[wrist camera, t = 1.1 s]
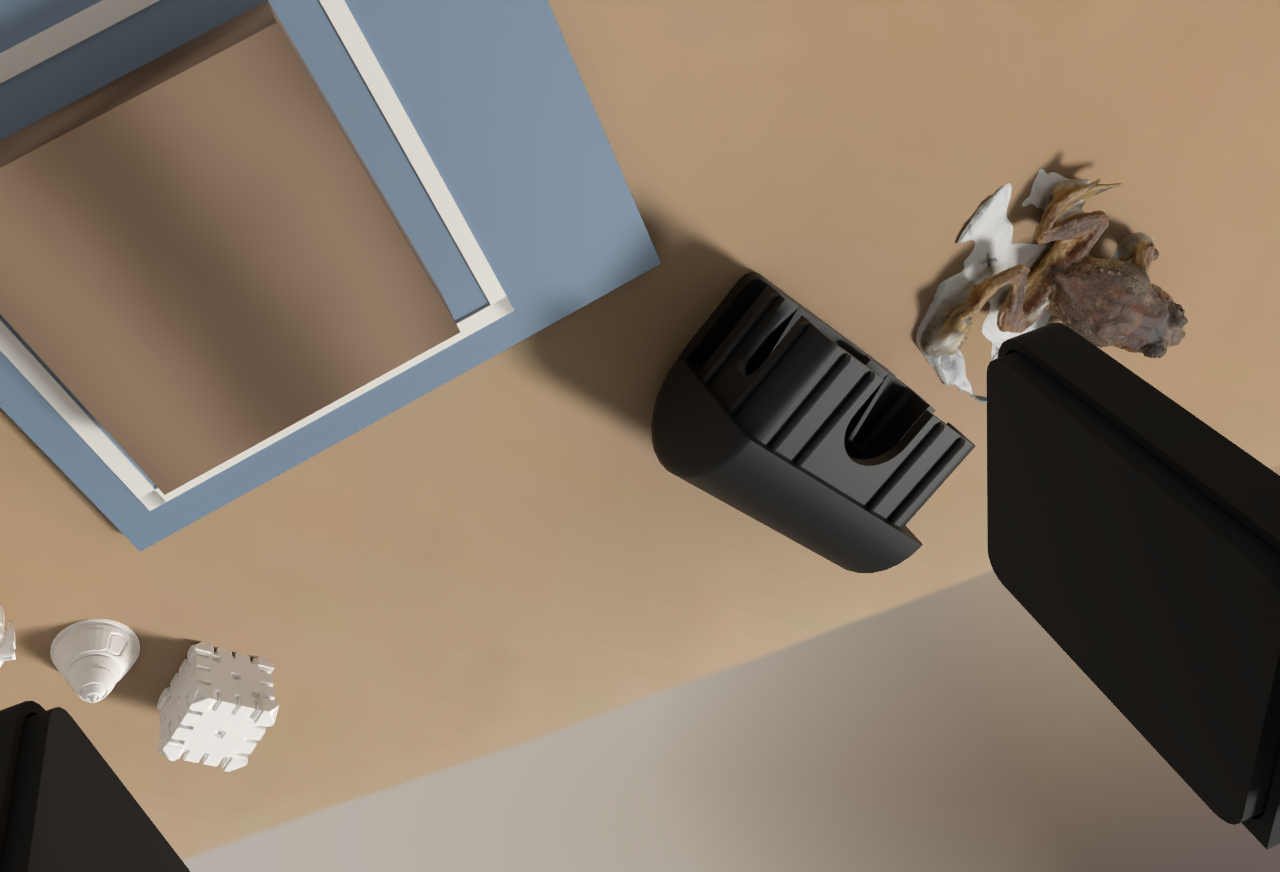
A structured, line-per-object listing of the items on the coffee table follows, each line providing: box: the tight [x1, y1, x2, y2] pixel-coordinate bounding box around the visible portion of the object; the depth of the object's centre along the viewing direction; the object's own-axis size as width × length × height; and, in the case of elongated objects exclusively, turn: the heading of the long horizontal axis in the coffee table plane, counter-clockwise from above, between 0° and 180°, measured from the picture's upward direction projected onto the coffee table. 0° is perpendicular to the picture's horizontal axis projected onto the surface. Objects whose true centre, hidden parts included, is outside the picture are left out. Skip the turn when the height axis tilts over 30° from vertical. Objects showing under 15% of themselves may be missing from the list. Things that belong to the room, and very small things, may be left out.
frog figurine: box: [916, 169, 1188, 403], centre depth 45 cm, size 12×12×4 cm
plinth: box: [0, 0, 460, 495], centre depth 32 cm, size 10×10×3 cm
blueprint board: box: [0, 0, 661, 551], centre depth 33 cm, size 20×16×1 cm
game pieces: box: [0, 605, 279, 772], centre depth 38 cm, size 12×3×3 cm, turn 53°
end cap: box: [651, 272, 975, 573], centre depth 41 cm, size 10×7×7 cm
